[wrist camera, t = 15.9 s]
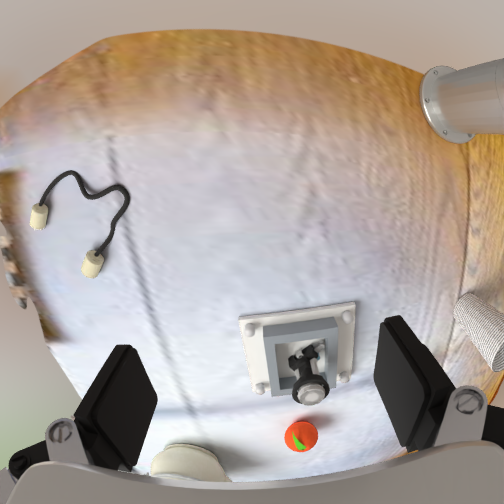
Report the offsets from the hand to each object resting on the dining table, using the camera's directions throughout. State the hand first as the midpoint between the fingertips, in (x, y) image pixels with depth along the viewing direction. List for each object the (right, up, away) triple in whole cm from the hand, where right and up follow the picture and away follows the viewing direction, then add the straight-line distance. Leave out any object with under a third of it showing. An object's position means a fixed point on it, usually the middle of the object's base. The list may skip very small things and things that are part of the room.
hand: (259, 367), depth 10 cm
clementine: (+10, -32, +43) cm, 54 cm away
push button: (+9, -12, +35) cm, 38 cm away
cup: (+40, -6, +34) cm, 53 cm away
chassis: (+8, -12, +36) cm, 39 cm away
